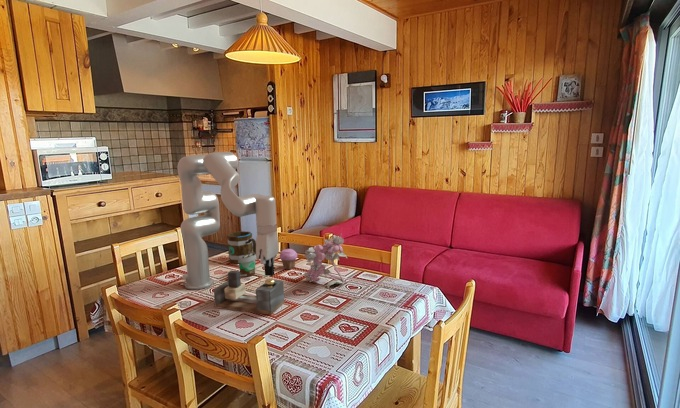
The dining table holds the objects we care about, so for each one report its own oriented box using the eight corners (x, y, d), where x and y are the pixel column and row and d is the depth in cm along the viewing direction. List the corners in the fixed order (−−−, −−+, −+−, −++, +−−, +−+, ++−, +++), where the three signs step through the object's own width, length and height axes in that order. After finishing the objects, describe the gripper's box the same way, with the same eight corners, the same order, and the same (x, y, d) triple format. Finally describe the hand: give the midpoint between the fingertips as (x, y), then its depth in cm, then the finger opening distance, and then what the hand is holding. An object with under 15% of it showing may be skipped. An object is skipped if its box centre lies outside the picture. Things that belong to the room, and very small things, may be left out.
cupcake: (291, 271, 192) (290, 252, 190) (277, 269, 195) (276, 250, 194) (300, 266, 199) (300, 247, 198) (286, 264, 203) (285, 245, 201)
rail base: (215, 307, 153) (213, 284, 151) (231, 296, 163) (229, 274, 161) (271, 314, 145) (270, 291, 143) (284, 302, 155) (283, 280, 154)
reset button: (264, 295, 149) (263, 281, 148) (268, 291, 152) (267, 278, 151) (272, 296, 148) (271, 282, 147) (276, 292, 151) (276, 279, 150)
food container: (251, 279, 182) (249, 259, 180) (239, 278, 183) (237, 258, 182) (261, 270, 194) (260, 251, 192) (250, 270, 195) (248, 251, 194)
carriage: (225, 298, 153) (223, 274, 151) (235, 291, 159) (233, 268, 158) (235, 299, 151) (234, 275, 150) (245, 292, 158) (244, 269, 156)
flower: (339, 267, 191) (316, 226, 184) (366, 276, 172) (342, 230, 165) (309, 293, 183) (283, 250, 175) (333, 305, 164) (306, 258, 156)
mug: (223, 261, 210) (221, 235, 207) (243, 255, 220) (241, 230, 218) (246, 268, 198) (244, 240, 195) (266, 261, 208) (264, 234, 206)
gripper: (267, 224, 154) (270, 268, 157) (247, 233, 140) (251, 281, 143) (284, 224, 151) (287, 269, 154) (265, 234, 137) (269, 282, 140)
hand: (269, 274), depth 148 cm, fingers closed
